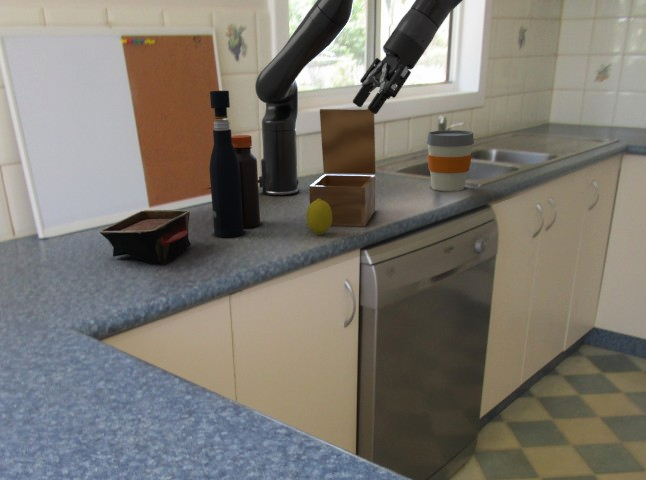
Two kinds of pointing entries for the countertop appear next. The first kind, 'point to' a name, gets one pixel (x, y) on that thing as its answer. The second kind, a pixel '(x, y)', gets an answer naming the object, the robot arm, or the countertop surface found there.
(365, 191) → the chest
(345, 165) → the lid
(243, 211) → the vinegar
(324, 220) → the lemon
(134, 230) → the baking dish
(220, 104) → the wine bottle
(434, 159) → the reusable coffee cup
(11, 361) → the countertop surface
